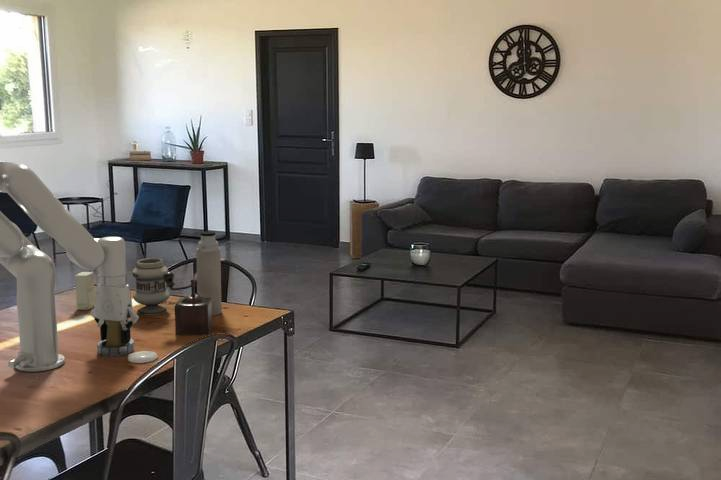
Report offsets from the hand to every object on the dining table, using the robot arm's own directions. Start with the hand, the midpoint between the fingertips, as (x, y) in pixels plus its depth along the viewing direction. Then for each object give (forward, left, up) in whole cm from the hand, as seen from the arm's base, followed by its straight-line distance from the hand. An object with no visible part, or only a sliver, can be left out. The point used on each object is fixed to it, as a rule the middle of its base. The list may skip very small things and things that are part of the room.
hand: (115, 340), depth 218 cm
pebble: (-3, -11, -3) cm, 12 cm away
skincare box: (+35, +38, -3) cm, 52 cm away
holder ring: (0, 0, -3) cm, 3 cm away
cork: (0, 0, -3) cm, 3 cm away
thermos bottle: (+45, -5, -3) cm, 45 cm away
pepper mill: (+25, -8, -3) cm, 26 cm away
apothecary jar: (+39, +14, -3) cm, 42 cm away
